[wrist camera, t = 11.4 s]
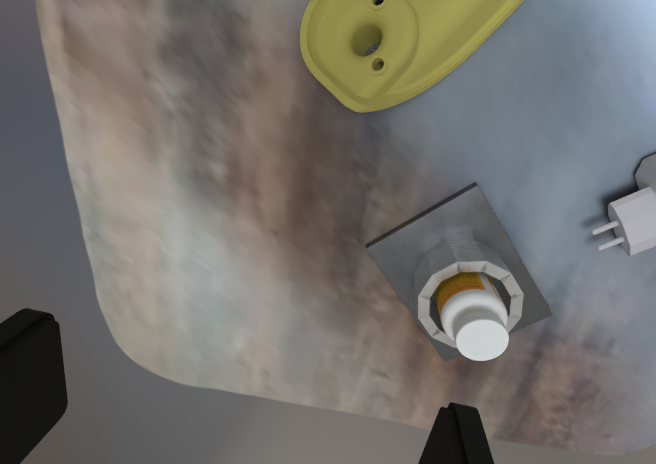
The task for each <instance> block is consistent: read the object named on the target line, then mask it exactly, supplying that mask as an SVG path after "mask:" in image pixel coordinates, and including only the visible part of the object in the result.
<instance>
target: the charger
mask: <svg viewBox="0 0 656 464" xmlns="http://www.w3.org/2000/svg"><path fill="white" fill-rule="evenodd" d="M635 178H636V182H637V185H638V188H639V191H637V192H635V193H633V194H630V195H628V196H626V197H623V198H621V199H618V200H616V201H614V202H611V203H609V205H608V216H609V218H610V221H611V222H610V223H607V224H605V225H603V226H600V227H598V228H595V229H593V230H591V234H593V235H596V234H598V233H601V232H603V231H606V230H608V229H611V228H613V229H614V232H615V235H616V237H617V238H616V239H613V240H611V241H608V242H606V243H603V244H600V245H598V246H597V249H598V250H599V251H601V250H603V249H606V248H608V247H611V246H614V245H616V244H619V243H620V244H621V246H622V248H623V249H624V251H625V252H626V254H627V255H628V256H631V255H634V254H637V253H639V252H642V251H645V250H647V249H650V248H652V247H655V246H656V154H654V155H651V156H649V157H647V158H645V159H643V160H642V162H641V164H640V166H639V168H638V170H637V172H636V174H635Z"/></svg>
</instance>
